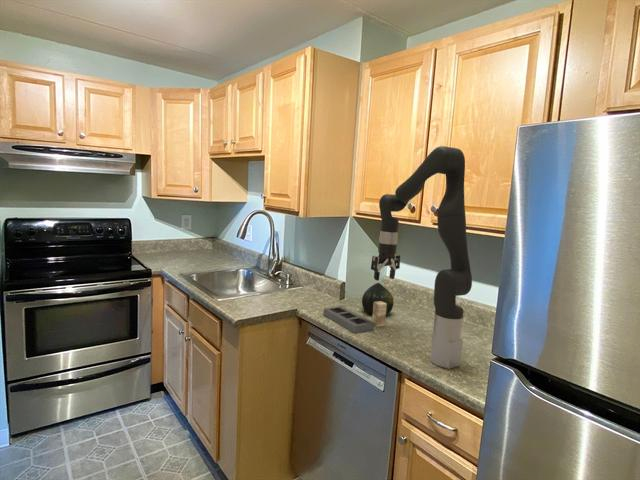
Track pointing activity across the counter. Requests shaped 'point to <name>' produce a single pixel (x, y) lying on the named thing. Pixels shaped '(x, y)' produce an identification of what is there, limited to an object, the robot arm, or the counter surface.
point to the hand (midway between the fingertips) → (384, 279)
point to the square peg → (379, 313)
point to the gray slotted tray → (348, 319)
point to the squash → (377, 298)
